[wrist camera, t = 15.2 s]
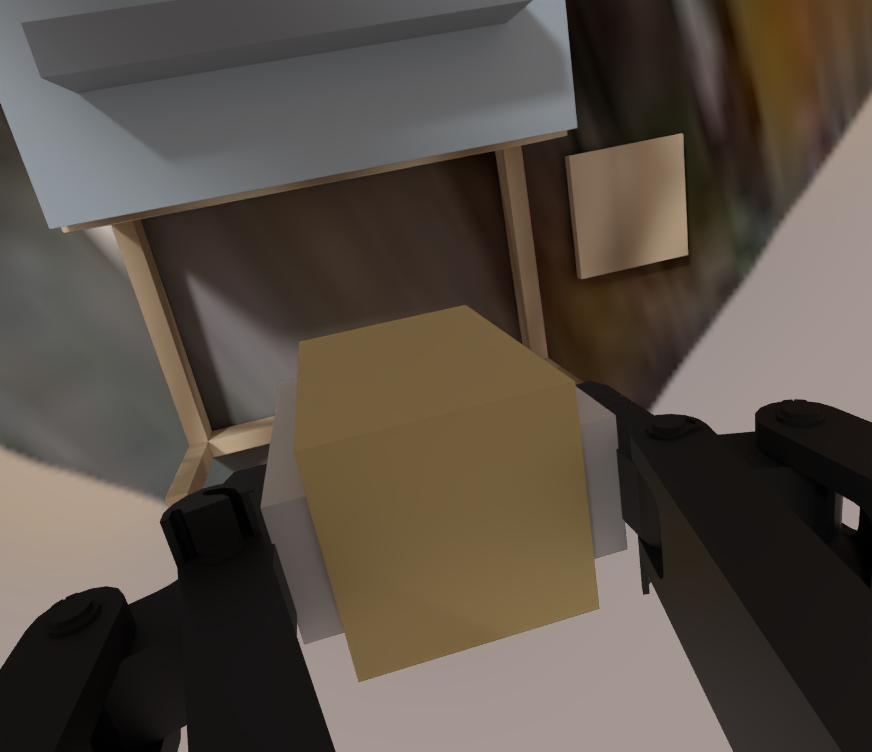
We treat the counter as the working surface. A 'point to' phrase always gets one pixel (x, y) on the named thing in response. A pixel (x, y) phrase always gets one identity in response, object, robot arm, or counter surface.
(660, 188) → the cork coaster
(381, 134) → the cover
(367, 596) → the ochre block
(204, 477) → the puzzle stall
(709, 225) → the counter surface
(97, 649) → the robot arm
